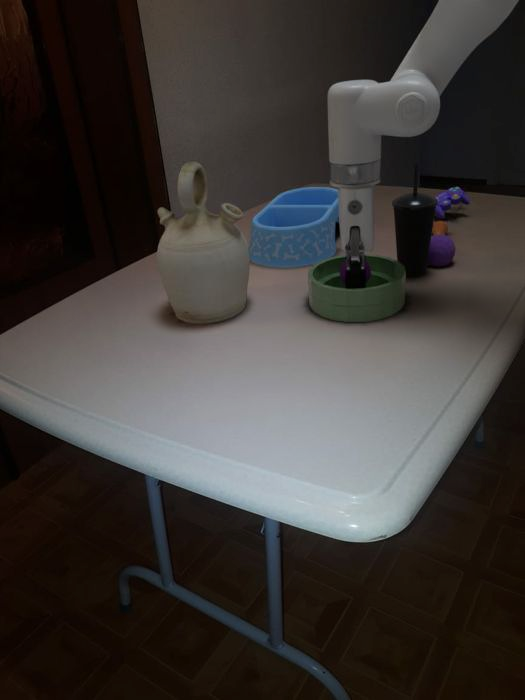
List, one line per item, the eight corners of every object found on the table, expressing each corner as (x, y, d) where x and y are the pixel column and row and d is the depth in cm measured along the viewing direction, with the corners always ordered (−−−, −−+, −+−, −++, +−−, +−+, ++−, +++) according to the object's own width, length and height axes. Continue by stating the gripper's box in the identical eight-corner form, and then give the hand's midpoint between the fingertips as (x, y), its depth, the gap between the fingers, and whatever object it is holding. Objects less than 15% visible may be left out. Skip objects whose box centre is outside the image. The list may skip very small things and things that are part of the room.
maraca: (457, 217, 116) (459, 242, 99) (450, 245, 119) (450, 274, 101) (428, 212, 117) (425, 236, 100) (422, 239, 120) (417, 267, 103)
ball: (370, 280, 94) (370, 251, 91) (371, 292, 89) (371, 263, 87) (340, 280, 95) (339, 252, 92) (339, 293, 90) (339, 264, 88)
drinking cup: (406, 286, 98) (410, 170, 88) (382, 272, 104) (383, 162, 94) (442, 276, 100) (450, 162, 90) (416, 264, 106) (421, 155, 96)
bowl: (400, 284, 99) (401, 252, 96) (407, 324, 86) (409, 289, 83) (313, 286, 102) (311, 255, 99) (306, 326, 88) (304, 291, 85)
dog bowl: (324, 272, 107) (323, 230, 103) (234, 268, 113) (229, 228, 109) (358, 219, 134) (358, 183, 130) (284, 218, 141) (281, 184, 136)
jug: (271, 298, 99) (257, 152, 86) (220, 337, 88) (196, 175, 75) (203, 287, 106) (182, 150, 94) (148, 321, 95) (116, 172, 83)
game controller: (444, 210, 121) (416, 193, 128) (446, 239, 127) (419, 221, 134) (482, 189, 122) (452, 172, 129) (482, 219, 128) (453, 202, 135)
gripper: (382, 185, 75) (380, 307, 84) (378, 159, 90) (377, 265, 98) (326, 188, 76) (330, 307, 85) (331, 161, 91) (334, 266, 100)
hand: (355, 283), depth 92 cm, fingers closed on ball, 4 cm apart
